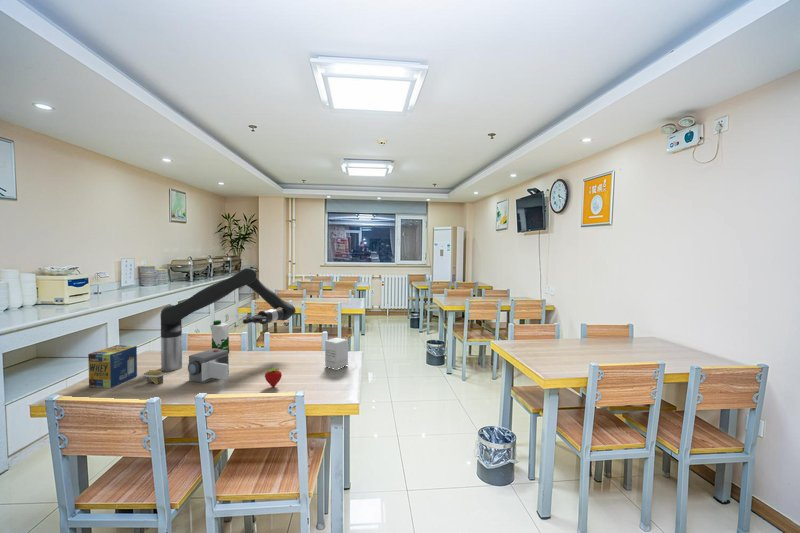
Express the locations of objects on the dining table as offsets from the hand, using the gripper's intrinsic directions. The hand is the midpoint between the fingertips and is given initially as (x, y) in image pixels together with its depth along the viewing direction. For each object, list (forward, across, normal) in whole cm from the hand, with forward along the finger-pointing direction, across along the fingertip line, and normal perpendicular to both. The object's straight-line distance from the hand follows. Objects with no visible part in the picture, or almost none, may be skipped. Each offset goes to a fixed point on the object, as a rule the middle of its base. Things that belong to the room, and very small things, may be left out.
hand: (244, 321), depth 180 cm
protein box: (+35, -44, +27) cm, 62 cm away
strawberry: (+11, +29, +26) cm, 41 cm away
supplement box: (-24, +41, +25) cm, 54 cm away
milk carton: (-18, -36, +26) cm, 48 cm away
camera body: (+14, -8, +26) cm, 31 cm away
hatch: (+19, +3, +24) cm, 31 cm away
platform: (+29, -25, +27) cm, 47 cm away
